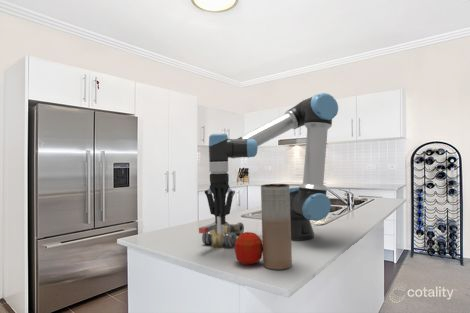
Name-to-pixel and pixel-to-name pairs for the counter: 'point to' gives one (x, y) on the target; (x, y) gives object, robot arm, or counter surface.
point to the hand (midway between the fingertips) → (220, 232)
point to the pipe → (235, 228)
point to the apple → (248, 248)
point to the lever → (207, 228)
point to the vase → (276, 226)
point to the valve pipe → (219, 238)
